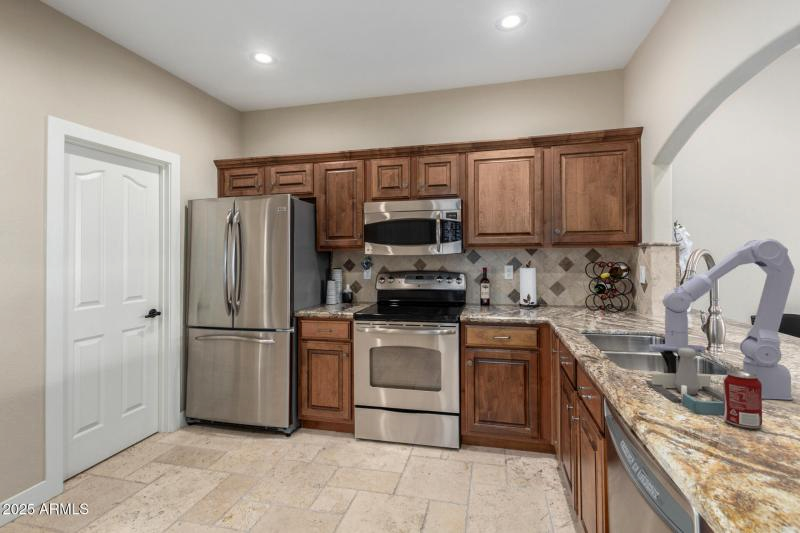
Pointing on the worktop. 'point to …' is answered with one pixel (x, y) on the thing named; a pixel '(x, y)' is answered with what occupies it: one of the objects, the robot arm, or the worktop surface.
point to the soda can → (742, 399)
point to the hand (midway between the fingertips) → (677, 375)
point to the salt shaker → (687, 371)
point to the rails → (677, 399)
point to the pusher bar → (669, 378)
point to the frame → (701, 404)
